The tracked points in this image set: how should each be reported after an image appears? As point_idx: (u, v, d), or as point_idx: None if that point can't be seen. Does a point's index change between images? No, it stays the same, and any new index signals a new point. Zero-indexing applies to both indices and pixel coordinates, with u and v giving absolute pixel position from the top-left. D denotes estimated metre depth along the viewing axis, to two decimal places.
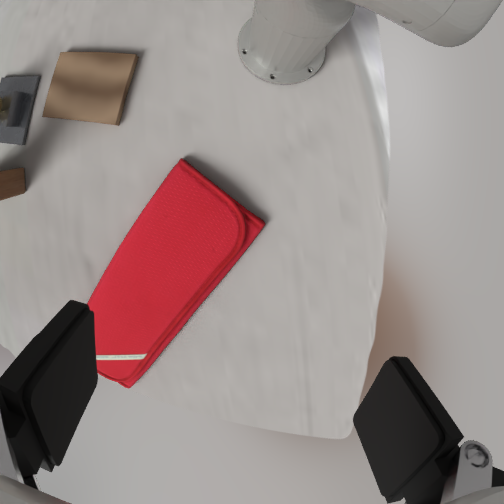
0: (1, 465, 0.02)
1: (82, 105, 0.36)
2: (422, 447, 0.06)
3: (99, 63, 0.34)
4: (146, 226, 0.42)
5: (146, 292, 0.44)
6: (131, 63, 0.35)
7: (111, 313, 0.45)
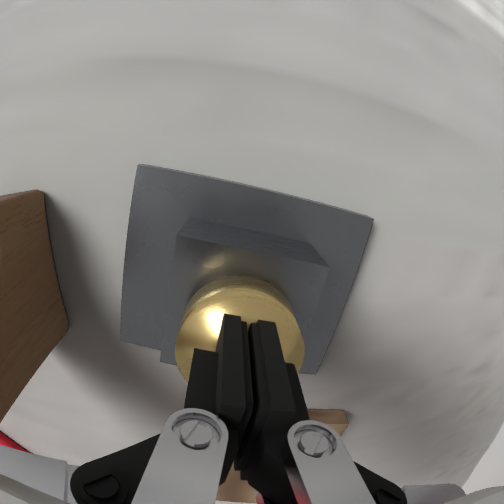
0: (199, 500, 0.03)
1: None
2: (253, 415, 0.06)
3: None
4: None
5: None
6: None
7: None
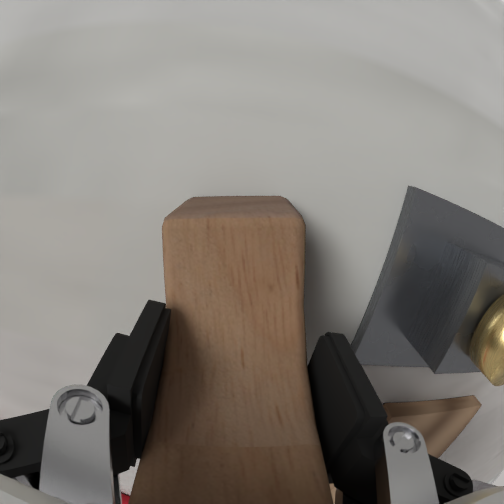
0: (96, 474, 0.03)
1: None
2: (344, 423, 0.06)
3: None
4: None
5: None
6: None
7: None
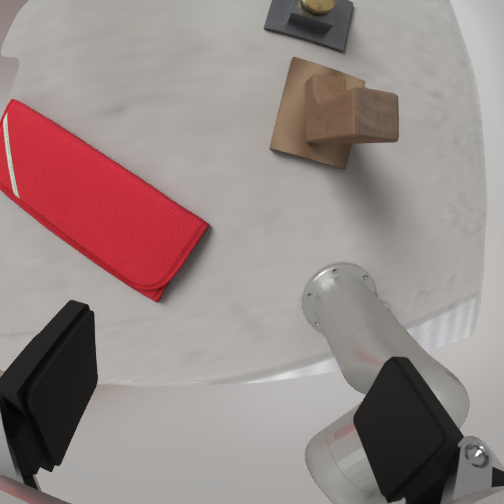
0: (1, 465, 0.02)
1: (297, 108, 0.38)
2: (422, 447, 0.06)
3: None
4: (139, 196, 0.40)
5: (76, 198, 0.39)
6: (335, 164, 0.41)
7: (50, 159, 0.36)
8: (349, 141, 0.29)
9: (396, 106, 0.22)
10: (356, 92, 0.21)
